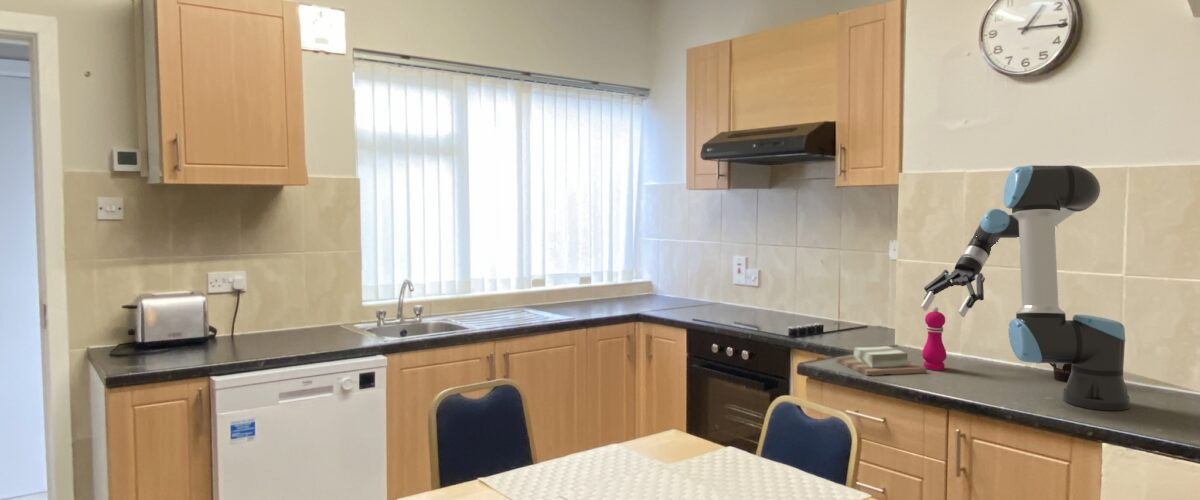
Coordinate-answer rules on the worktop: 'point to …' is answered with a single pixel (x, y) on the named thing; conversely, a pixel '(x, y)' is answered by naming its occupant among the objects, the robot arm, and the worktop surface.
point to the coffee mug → (1061, 371)
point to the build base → (881, 369)
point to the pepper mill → (934, 341)
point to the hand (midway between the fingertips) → (941, 311)
